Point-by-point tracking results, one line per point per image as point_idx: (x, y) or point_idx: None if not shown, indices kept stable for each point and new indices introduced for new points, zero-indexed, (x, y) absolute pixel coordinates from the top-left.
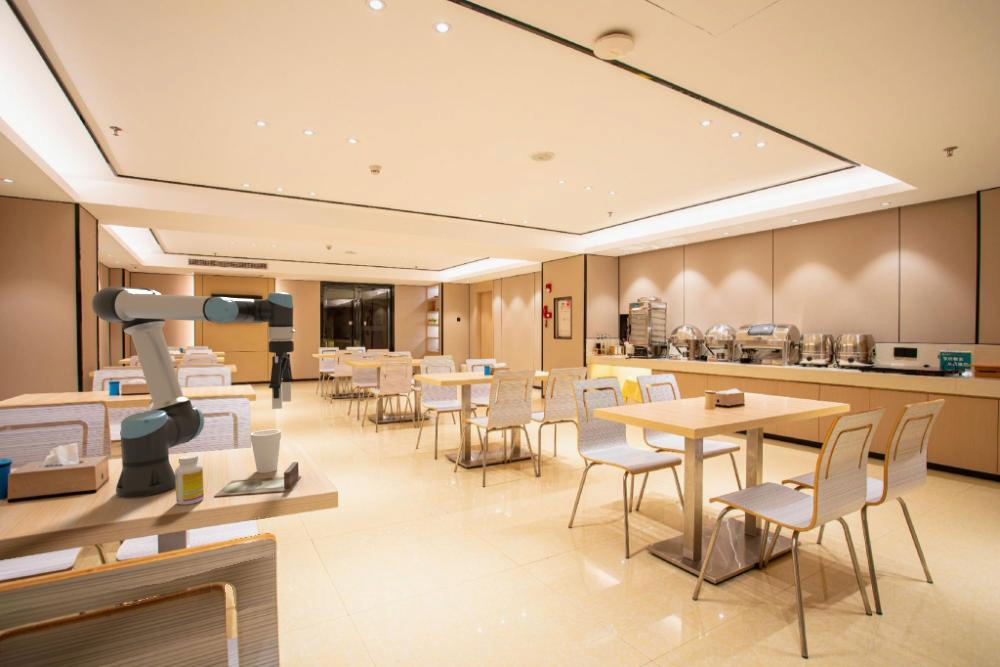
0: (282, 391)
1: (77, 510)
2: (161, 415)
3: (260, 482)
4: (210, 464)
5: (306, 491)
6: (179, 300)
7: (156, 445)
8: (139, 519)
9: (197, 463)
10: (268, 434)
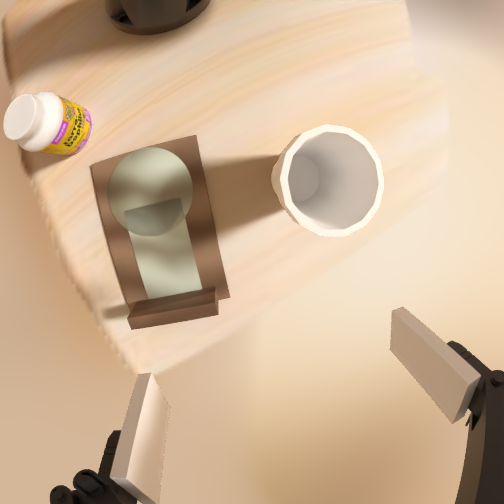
0: (428, 347)
1: None
2: None
3: (174, 222)
4: (344, 22)
5: (138, 343)
6: None
7: None
8: None
9: (34, 136)
10: (297, 210)
